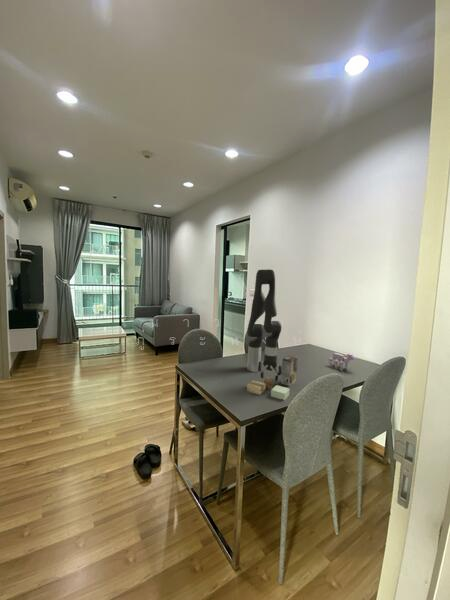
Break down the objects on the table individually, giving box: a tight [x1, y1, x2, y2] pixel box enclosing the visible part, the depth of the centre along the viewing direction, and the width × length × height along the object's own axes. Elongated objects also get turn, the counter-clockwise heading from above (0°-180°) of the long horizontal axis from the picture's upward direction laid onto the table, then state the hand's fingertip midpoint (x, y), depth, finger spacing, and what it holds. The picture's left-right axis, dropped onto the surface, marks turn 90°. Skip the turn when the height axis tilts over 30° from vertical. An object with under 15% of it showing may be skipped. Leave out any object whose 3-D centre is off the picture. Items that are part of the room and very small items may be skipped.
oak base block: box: [246, 380, 266, 396], centre depth 154 cm, size 8×8×4 cm
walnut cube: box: [263, 376, 275, 390], centre depth 160 cm, size 5×5×5 cm
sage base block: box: [270, 384, 291, 401], centre depth 149 cm, size 8×8×4 cm
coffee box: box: [280, 355, 298, 387], centre depth 167 cm, size 9×6×16 cm
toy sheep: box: [328, 352, 357, 372], centre depth 198 cm, size 20×11×14 cm, turn 34°
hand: (269, 379), depth 159 cm, fingers open, 8 cm apart
